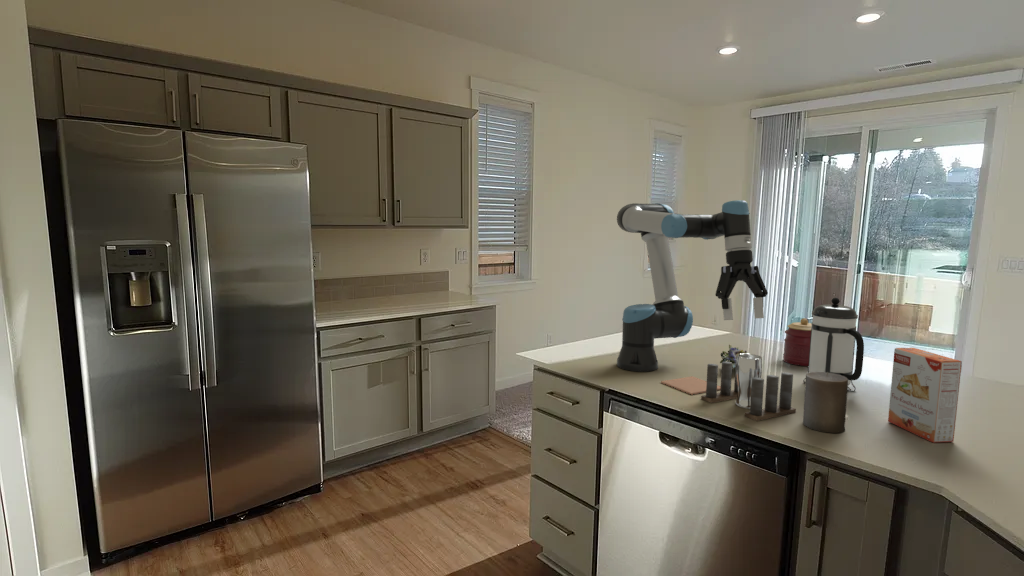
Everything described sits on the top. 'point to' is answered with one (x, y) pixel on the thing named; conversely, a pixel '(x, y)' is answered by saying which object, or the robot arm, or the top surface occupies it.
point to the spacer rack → (752, 392)
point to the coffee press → (835, 341)
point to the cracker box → (925, 393)
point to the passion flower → (732, 355)
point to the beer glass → (747, 377)
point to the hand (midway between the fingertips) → (744, 319)
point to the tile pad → (689, 385)
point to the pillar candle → (825, 402)
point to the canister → (797, 343)
